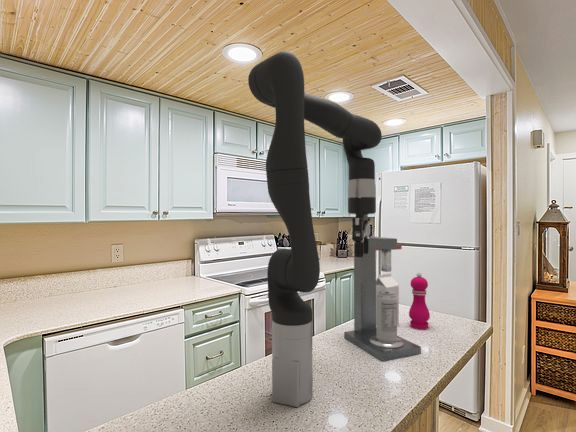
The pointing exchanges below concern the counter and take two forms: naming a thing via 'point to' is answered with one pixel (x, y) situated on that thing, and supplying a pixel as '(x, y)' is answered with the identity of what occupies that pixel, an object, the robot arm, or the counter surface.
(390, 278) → the milk carton
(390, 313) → the energy drink can
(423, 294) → the pepper mill
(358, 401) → the counter surface
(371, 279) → the arbor press
